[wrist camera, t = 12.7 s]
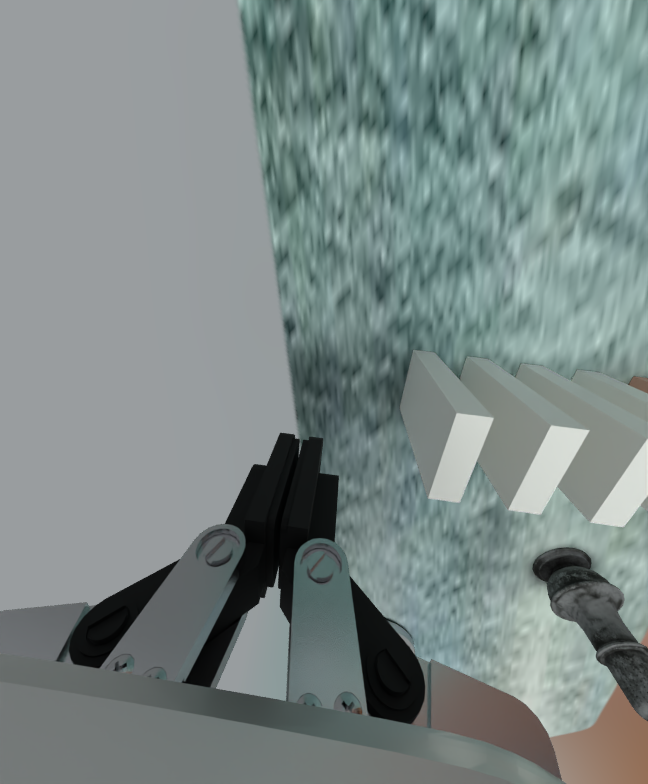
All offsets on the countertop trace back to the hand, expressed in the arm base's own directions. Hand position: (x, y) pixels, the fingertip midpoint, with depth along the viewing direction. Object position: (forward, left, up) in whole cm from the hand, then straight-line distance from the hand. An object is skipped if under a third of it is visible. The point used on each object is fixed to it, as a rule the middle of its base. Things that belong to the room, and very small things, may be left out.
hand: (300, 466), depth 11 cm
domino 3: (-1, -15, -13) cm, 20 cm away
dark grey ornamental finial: (-19, -26, -13) cm, 35 cm away
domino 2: (-1, -11, -13) cm, 17 cm away
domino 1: (-1, -7, -13) cm, 15 cm away
